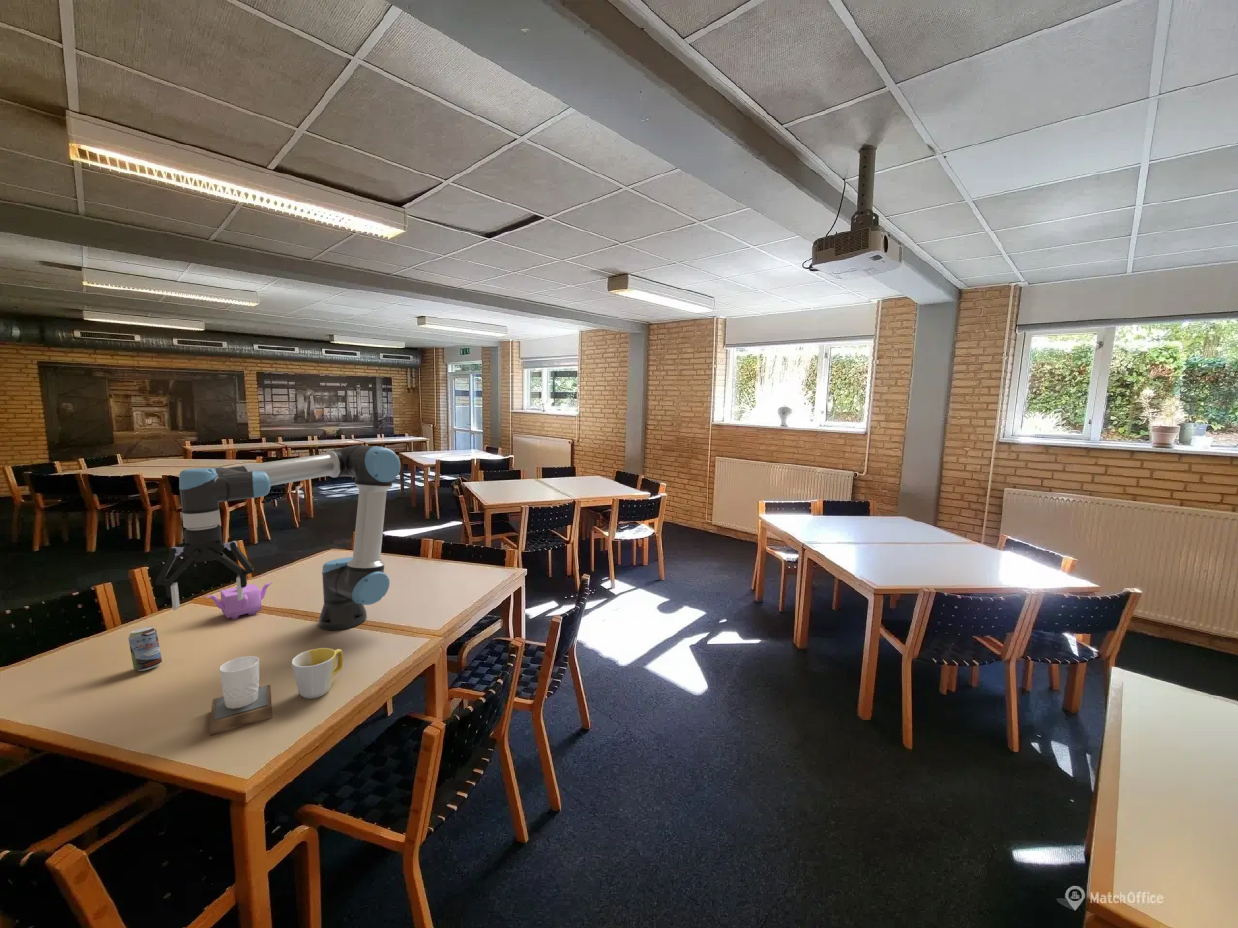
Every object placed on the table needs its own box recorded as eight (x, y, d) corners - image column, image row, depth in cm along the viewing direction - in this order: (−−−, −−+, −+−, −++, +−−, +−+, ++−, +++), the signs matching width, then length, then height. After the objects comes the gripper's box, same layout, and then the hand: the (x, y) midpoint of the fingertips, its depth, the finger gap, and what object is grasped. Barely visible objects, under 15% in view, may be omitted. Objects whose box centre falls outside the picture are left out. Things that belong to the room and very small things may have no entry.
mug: (307, 708, 127) (305, 670, 126) (285, 696, 132) (283, 659, 131) (357, 683, 139) (355, 648, 138) (335, 673, 144) (333, 639, 143)
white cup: (236, 692, 128) (234, 656, 127) (268, 691, 128) (266, 655, 127) (214, 711, 120) (211, 672, 119) (248, 710, 120) (245, 671, 119)
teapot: (240, 605, 190) (238, 578, 189) (274, 606, 190) (272, 579, 189) (206, 622, 175) (204, 593, 174) (244, 623, 175) (242, 594, 174)
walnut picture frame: (271, 694, 133) (270, 683, 132) (272, 717, 123) (271, 705, 123) (213, 710, 125) (212, 697, 125) (210, 735, 116) (209, 722, 116)
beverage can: (144, 674, 141) (141, 635, 139) (124, 671, 142) (121, 632, 141) (168, 664, 147) (165, 625, 146) (149, 661, 148) (146, 623, 147)
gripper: (262, 518, 139) (267, 590, 142) (144, 528, 127) (152, 606, 130) (258, 524, 133) (263, 599, 135) (133, 535, 121) (142, 617, 123)
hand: (209, 603), depth 132 cm, fingers open, 13 cm apart
